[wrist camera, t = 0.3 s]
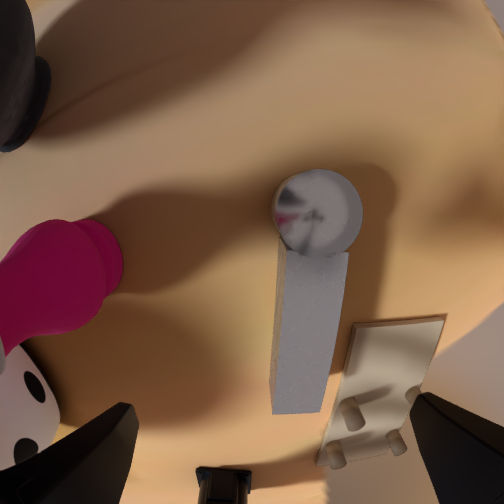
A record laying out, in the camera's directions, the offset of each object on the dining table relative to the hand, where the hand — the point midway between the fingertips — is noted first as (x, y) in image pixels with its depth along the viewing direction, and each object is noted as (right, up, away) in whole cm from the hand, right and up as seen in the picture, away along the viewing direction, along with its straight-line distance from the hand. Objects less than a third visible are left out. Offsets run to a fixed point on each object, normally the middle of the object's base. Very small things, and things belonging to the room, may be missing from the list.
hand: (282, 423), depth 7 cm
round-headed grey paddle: (+3, +2, +13) cm, 13 cm away
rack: (+11, -10, +15) cm, 22 cm away
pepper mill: (-13, +4, +12) cm, 19 cm away
